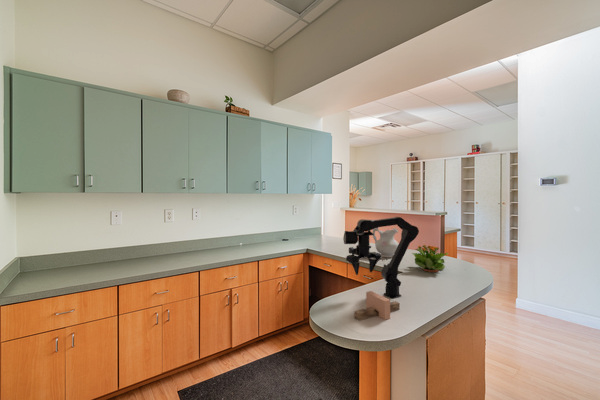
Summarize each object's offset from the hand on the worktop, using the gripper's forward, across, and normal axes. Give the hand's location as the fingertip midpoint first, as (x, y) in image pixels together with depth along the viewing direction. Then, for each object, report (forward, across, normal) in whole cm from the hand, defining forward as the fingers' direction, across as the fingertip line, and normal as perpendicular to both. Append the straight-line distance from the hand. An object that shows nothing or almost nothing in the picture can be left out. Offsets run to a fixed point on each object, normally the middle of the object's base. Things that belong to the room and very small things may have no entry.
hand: (363, 273), depth 143 cm
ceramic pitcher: (+12, -76, -64) cm, 100 cm away
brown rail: (+12, +8, +19) cm, 24 cm away
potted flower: (+12, -71, -16) cm, 74 cm away
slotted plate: (+12, +8, +19) cm, 24 cm away
